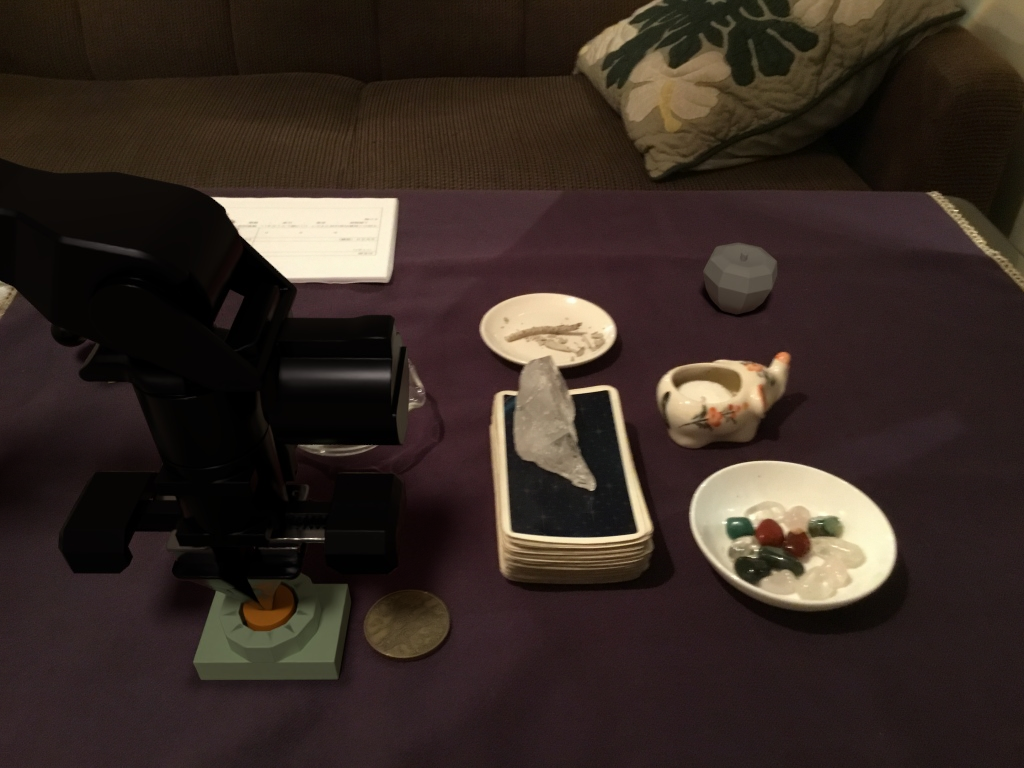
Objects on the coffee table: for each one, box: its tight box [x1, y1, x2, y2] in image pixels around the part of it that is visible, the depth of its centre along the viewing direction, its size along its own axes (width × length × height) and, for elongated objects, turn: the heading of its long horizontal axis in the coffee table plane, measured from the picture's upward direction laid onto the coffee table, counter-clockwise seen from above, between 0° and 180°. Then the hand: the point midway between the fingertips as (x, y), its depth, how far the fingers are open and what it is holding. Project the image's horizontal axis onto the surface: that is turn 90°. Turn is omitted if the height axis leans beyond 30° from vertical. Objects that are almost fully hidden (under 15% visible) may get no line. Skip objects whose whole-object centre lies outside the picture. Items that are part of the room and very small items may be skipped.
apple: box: [702, 242, 778, 315], centre depth 84 cm, size 8×8×7 cm
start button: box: [243, 585, 297, 631], centre depth 52 cm, size 3×3×2 cm
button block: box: [192, 572, 352, 681], centre depth 53 cm, size 9×6×4 cm
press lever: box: [50, 323, 88, 348], centre depth 73 cm, size 10×3×3 cm, turn 110°
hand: (267, 603), depth 51 cm, fingers closed, pressing on start button
